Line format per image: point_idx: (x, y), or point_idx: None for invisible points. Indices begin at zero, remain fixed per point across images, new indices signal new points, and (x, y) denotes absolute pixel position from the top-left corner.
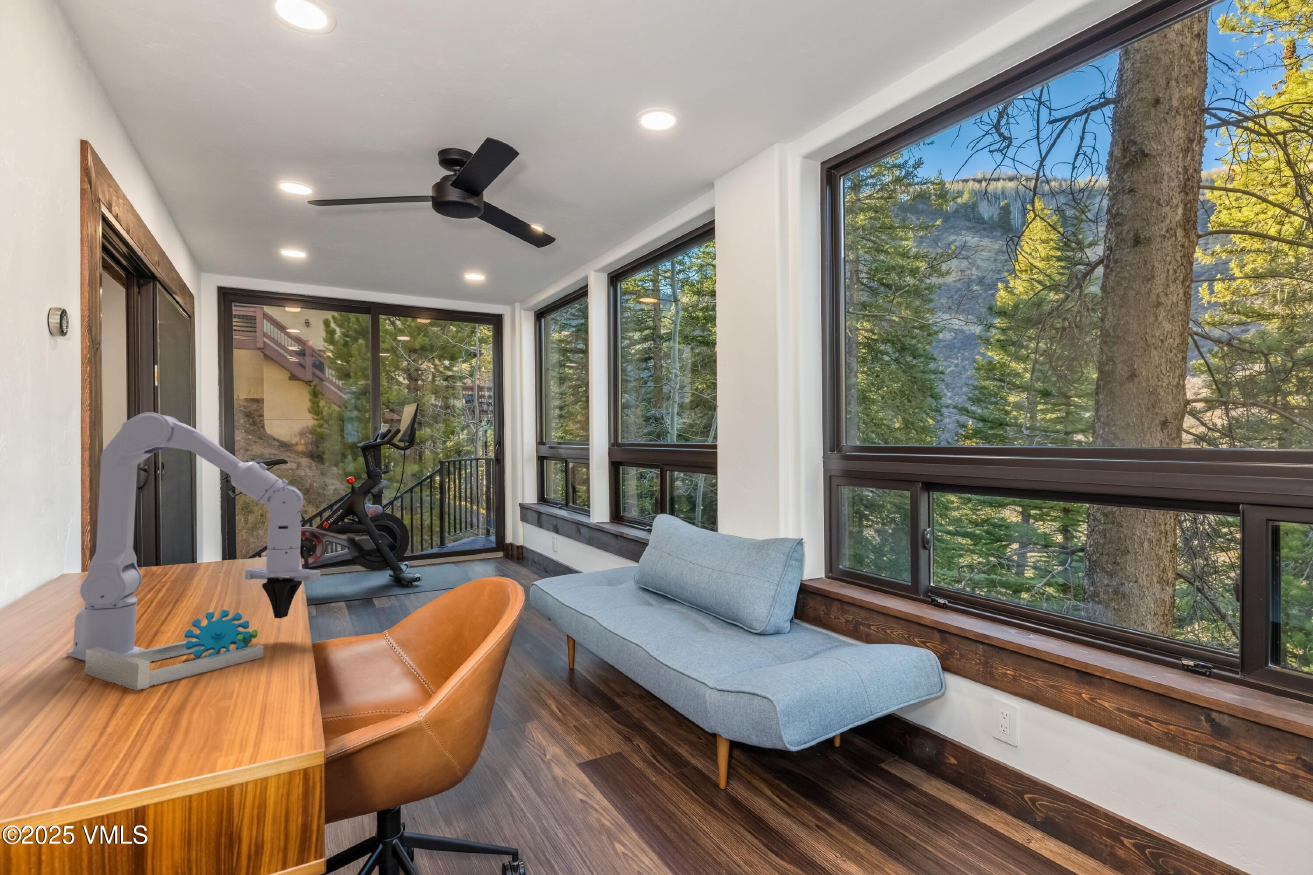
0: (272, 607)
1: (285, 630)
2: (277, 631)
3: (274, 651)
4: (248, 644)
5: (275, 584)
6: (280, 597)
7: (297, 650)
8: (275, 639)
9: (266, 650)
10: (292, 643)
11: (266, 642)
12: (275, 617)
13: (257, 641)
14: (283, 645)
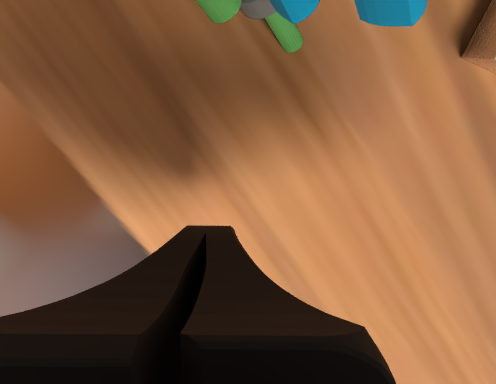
0: (237, 247)
1: None
2: None
3: (107, 17)
4: (269, 25)
5: (90, 343)
6: (126, 281)
7: (4, 55)
8: (259, 221)
9: (163, 29)
10: (128, 171)
11: (266, 168)
12: (223, 227)
13: (322, 177)
14: (145, 131)
